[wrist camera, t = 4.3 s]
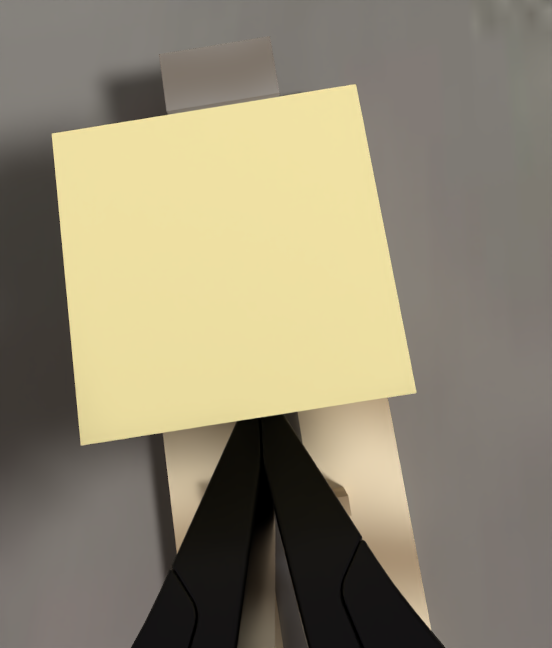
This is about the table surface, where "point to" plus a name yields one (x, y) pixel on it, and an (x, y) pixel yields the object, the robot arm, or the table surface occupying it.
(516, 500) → the table surface
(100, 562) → the table surface
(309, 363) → the yellow square block
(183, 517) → the comb board
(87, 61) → the table surface
